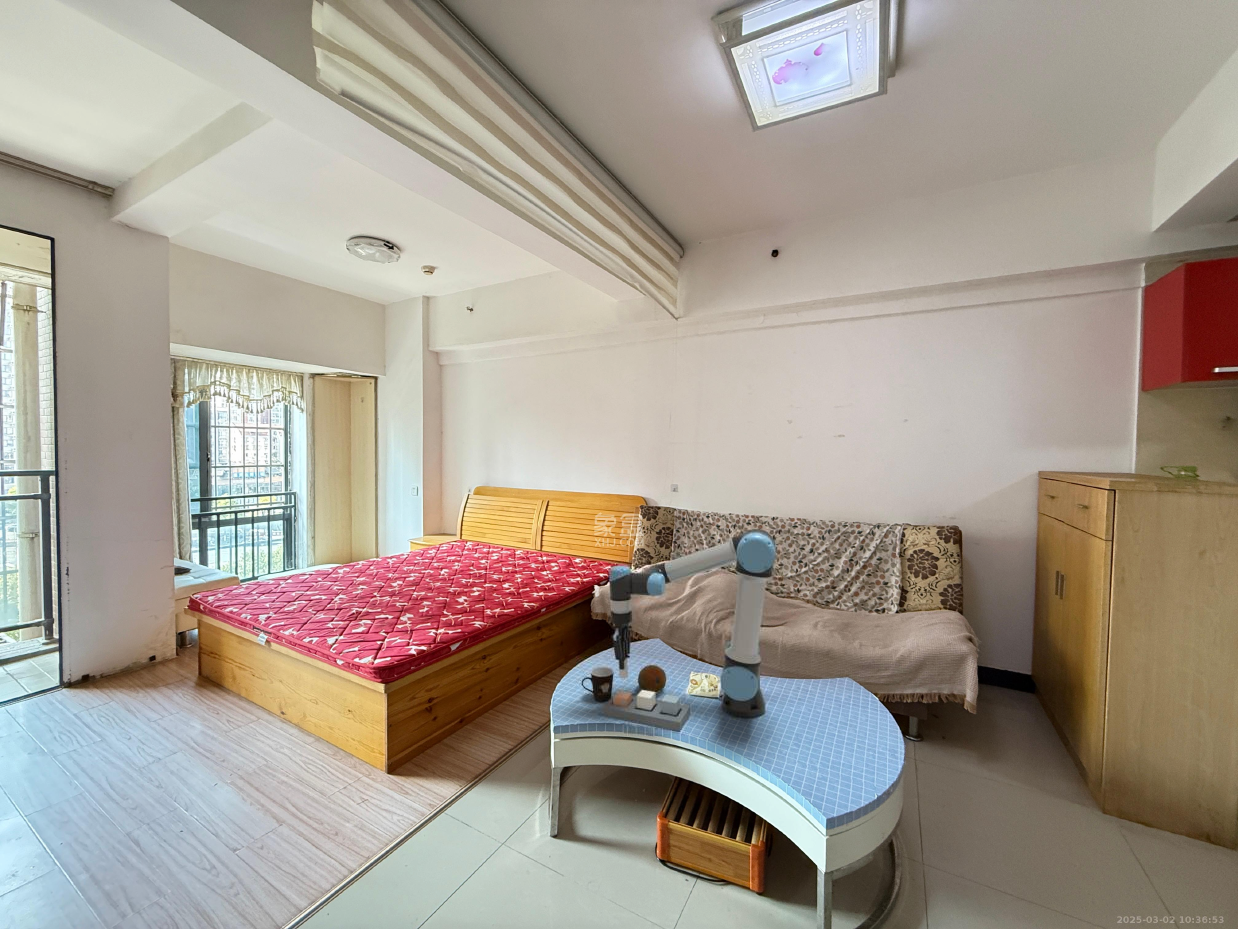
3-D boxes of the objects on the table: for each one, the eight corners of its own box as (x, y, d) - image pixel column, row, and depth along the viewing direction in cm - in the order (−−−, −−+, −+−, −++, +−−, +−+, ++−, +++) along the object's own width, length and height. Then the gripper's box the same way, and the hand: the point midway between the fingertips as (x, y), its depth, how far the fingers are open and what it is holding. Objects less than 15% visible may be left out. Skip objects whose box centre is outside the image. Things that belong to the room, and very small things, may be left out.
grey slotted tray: (690, 714, 175) (690, 706, 175) (680, 731, 164) (680, 722, 164) (616, 700, 186) (616, 692, 186) (602, 715, 175) (602, 706, 175)
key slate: (680, 708, 172) (680, 696, 172) (675, 715, 168) (675, 703, 168) (666, 705, 174) (666, 694, 174) (661, 712, 170) (661, 700, 170)
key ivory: (655, 703, 176) (655, 692, 176) (650, 710, 171) (650, 698, 171) (642, 701, 178) (642, 689, 178) (636, 707, 174) (636, 695, 174)
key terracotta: (631, 704, 180) (631, 692, 180) (626, 710, 175) (626, 699, 175) (619, 701, 182) (618, 690, 182) (613, 707, 177) (613, 696, 177)
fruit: (644, 701, 185) (644, 674, 185) (630, 687, 197) (629, 661, 197) (672, 694, 190) (672, 668, 190) (656, 681, 201) (656, 656, 201)
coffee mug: (615, 693, 192) (614, 667, 192) (612, 704, 183) (612, 676, 183) (585, 692, 193) (584, 666, 193) (581, 703, 184) (580, 676, 184)
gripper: (618, 604, 186) (621, 668, 186) (603, 614, 174) (606, 683, 174) (637, 606, 183) (640, 671, 183) (623, 616, 171) (626, 686, 171)
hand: (623, 677), depth 178 cm, fingers closed
